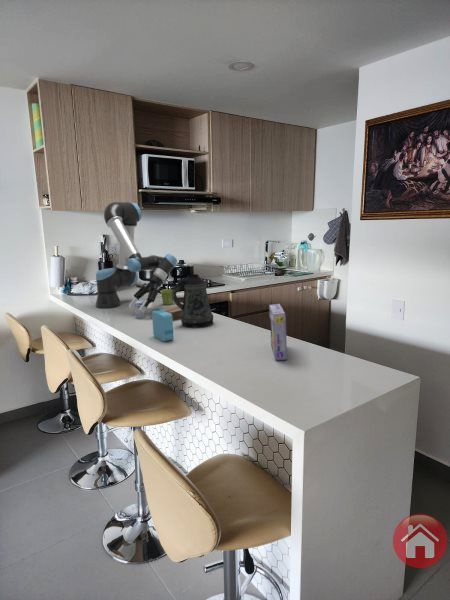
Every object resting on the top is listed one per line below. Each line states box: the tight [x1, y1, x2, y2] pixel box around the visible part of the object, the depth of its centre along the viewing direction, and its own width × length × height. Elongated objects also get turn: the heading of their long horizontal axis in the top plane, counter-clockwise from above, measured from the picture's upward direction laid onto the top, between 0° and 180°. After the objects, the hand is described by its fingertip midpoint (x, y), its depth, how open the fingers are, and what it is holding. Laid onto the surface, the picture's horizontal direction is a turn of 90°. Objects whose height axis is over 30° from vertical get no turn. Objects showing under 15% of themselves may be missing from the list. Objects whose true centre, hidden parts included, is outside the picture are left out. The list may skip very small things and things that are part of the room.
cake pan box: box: [268, 303, 288, 361], centre depth 149 cm, size 19×5×18 cm, turn 178°
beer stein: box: [171, 274, 214, 329], centre depth 194 cm, size 16×19×25 cm
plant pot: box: [159, 289, 174, 306], centre depth 248 cm, size 9×9×9 cm
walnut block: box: [157, 305, 183, 322], centre depth 213 cm, size 12×12×5 cm
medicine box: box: [134, 299, 146, 320], centre depth 215 cm, size 8×4×9 cm, turn 3°
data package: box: [151, 310, 175, 343], centre depth 173 cm, size 12×4×12 cm, turn 33°
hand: (135, 309), depth 214 cm, fingers open, 11 cm apart
